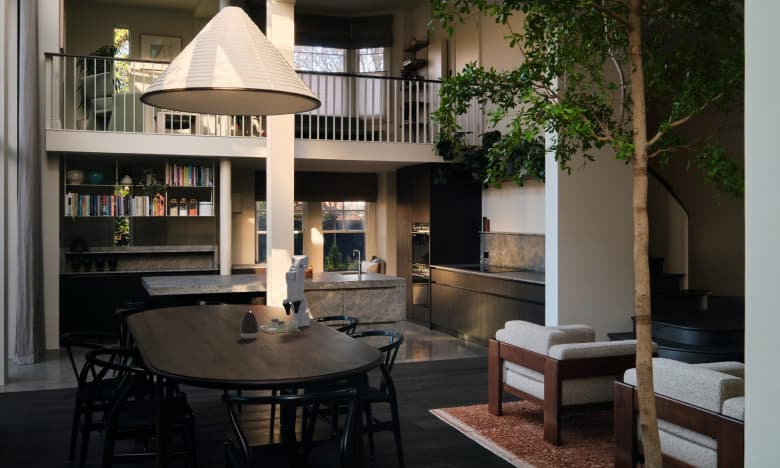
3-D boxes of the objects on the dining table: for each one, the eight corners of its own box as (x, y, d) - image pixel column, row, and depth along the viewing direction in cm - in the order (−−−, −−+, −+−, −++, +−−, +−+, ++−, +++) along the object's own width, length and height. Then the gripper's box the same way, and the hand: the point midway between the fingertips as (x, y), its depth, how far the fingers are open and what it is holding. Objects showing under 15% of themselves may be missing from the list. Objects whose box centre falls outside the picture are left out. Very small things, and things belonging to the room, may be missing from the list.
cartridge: (293, 329, 421) (293, 320, 421) (299, 329, 420) (299, 320, 419) (289, 330, 417) (288, 321, 417) (295, 330, 415) (295, 321, 415)
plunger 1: (276, 323, 431) (276, 318, 431) (278, 324, 428) (278, 319, 428) (271, 323, 430) (271, 318, 429) (273, 324, 426) (272, 319, 426)
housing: (278, 327, 434) (278, 320, 433) (289, 331, 417) (289, 324, 417) (259, 329, 428) (259, 322, 428) (269, 333, 411) (269, 326, 411)
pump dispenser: (261, 336, 400) (260, 310, 399) (255, 340, 389) (255, 312, 389) (243, 336, 401) (243, 310, 400) (237, 339, 390) (237, 312, 390)
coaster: (297, 329, 423) (297, 329, 423) (301, 331, 417) (301, 330, 417) (287, 330, 420) (287, 329, 420) (291, 332, 414) (291, 331, 414)
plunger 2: (282, 325, 421) (282, 320, 421) (284, 326, 418) (284, 321, 418) (277, 326, 420) (276, 321, 420) (278, 326, 417) (278, 321, 417)
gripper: (294, 289, 428) (294, 312, 428) (278, 292, 415) (279, 315, 416) (303, 290, 424) (303, 312, 424) (288, 292, 412) (288, 316, 412)
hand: (292, 314), depth 420 cm, fingers open, 7 cm apart
